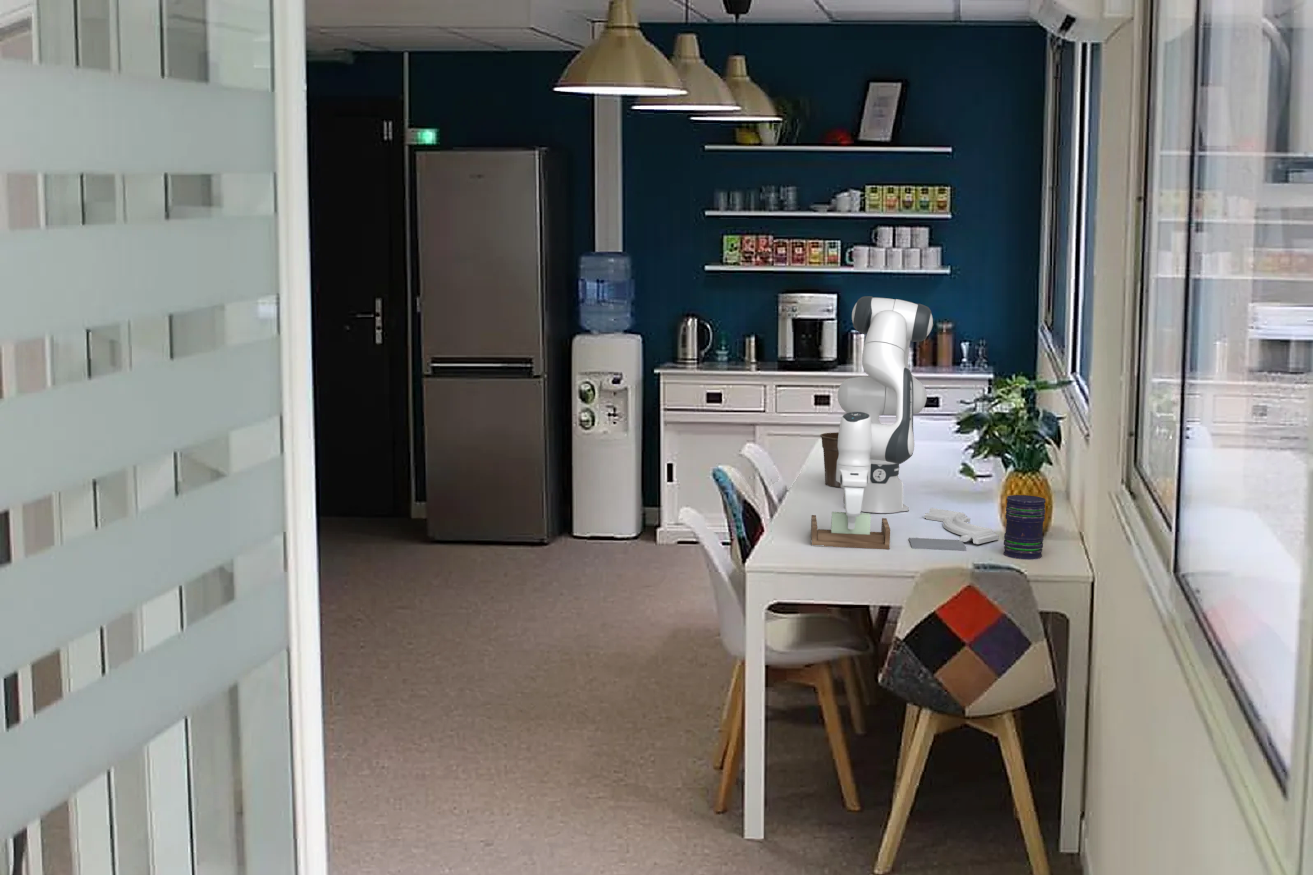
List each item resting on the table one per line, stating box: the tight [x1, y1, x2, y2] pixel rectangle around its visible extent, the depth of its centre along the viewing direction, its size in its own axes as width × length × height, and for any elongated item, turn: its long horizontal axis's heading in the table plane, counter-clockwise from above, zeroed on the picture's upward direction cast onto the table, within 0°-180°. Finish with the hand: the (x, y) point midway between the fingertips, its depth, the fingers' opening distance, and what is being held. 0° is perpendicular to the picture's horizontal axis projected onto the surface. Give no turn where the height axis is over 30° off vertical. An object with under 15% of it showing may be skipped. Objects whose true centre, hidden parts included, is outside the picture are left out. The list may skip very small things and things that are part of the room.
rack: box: [810, 514, 891, 550], centre depth 428 cm, size 16×20×5 cm
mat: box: [908, 537, 967, 551], centre depth 427 cm, size 11×14×1 cm
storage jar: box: [1003, 494, 1046, 561], centre depth 416 cm, size 10×10×15 cm
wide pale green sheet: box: [830, 511, 872, 535], centre depth 424 cm, size 2×10×7 cm, turn 86°
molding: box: [924, 507, 1000, 545], centre depth 448 cm, size 42×12×3 cm, turn 6°
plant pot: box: [819, 431, 842, 489], centre depth 518 cm, size 16×16×16 cm
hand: (850, 527), depth 424 cm, fingers closed on wide pale green sheet, 2 cm apart
